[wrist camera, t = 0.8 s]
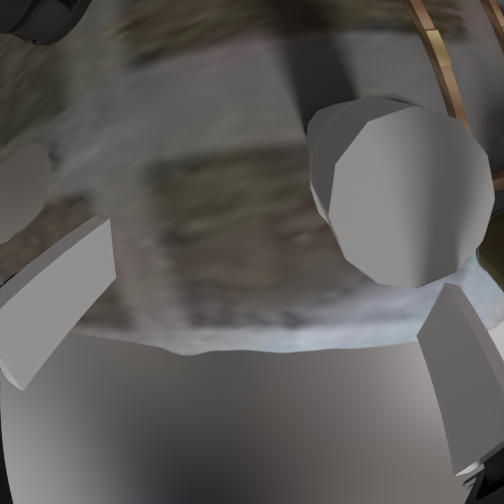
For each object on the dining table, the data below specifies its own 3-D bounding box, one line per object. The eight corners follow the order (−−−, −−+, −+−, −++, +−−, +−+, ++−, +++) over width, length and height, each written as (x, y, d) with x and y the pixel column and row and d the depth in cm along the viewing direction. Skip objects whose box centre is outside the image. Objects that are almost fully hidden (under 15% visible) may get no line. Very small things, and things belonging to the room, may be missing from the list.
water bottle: (289, 131, 31) (260, 184, 9) (342, 90, 28) (445, 47, 6) (339, 192, 33) (396, 351, 11) (390, 154, 30) (532, 255, 8)
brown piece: (363, -58, 17) (366, -66, 14) (453, -56, 12) (459, -62, 10) (463, 193, 30) (472, 199, 28) (534, 170, 25) (544, 175, 23)
